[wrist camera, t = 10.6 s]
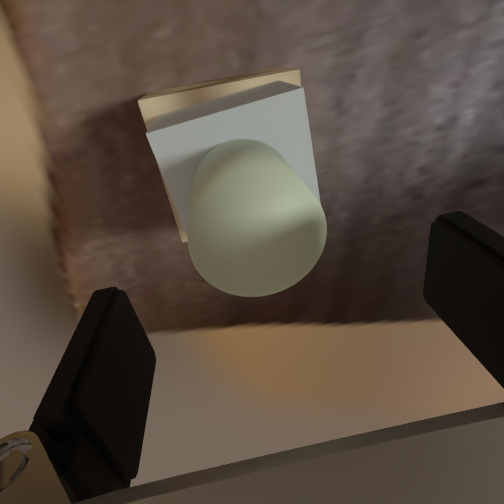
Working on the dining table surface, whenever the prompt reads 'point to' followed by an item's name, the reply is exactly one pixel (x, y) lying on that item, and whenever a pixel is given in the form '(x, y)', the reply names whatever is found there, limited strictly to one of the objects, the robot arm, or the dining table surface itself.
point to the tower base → (201, 93)
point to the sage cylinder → (252, 220)
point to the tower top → (233, 135)
